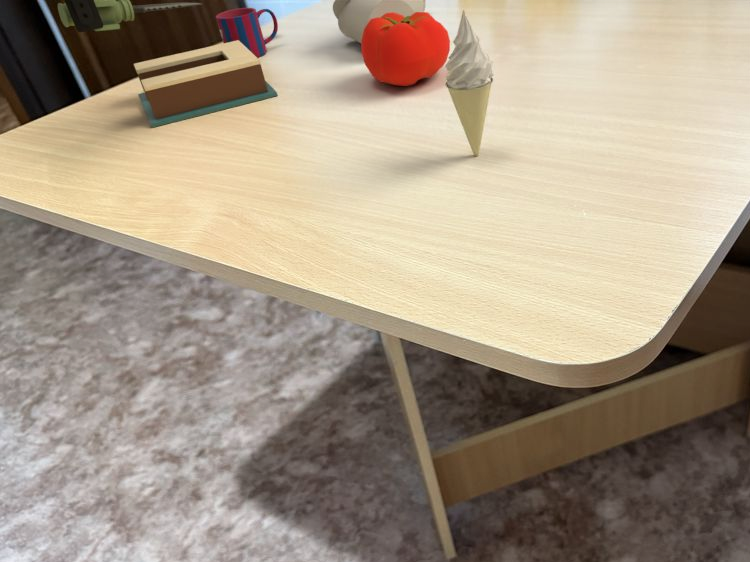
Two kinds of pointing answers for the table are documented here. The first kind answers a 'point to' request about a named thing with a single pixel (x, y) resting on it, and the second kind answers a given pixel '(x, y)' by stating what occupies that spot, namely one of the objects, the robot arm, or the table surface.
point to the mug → (245, 28)
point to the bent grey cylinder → (370, 13)
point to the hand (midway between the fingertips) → (89, 23)
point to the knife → (118, 12)
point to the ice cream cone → (469, 82)
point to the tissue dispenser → (200, 82)
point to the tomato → (404, 47)
